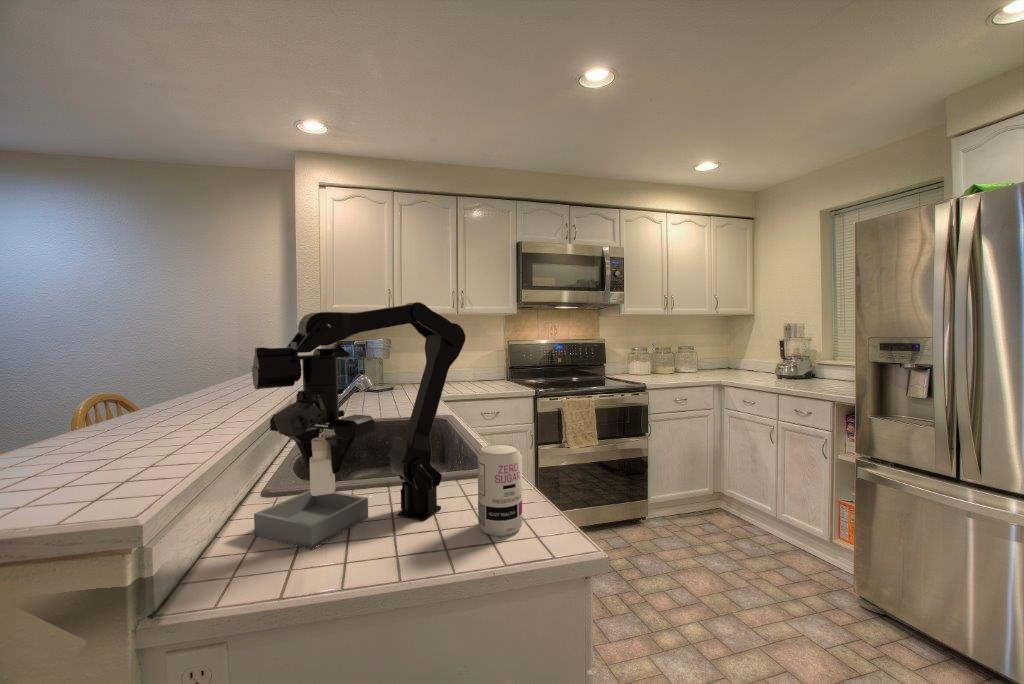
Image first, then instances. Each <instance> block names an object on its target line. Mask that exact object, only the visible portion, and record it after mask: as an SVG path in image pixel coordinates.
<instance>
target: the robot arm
mask: <svg viewBox="0 0 1024 684" xmlns="http://www.w3.org/2000/svg"><path fill="white" fill-rule="evenodd" d="M407 324H409V325H411V326H412V327H413V329H414V330H415V331H416V332H417V333H418V334H419V335H421V336H422V337H423V338H424V339H425V343H424V352H425V353H424V354H425V360H426V363H425V366H424V370H423V373H422V377H421V380H420V384H419V387H418V391H417V394H416V398H415V401H414V405H413V408H412V410H411V411H412V412H411V415H410V417H409V421H408V424H407V428H406V431H404V433H403V434H402V435H401V436H400V437H399V436H396V435H395V436H394V437H393V439H392V445H391V449H390V451H389V452H388V454H387V456H388V457H390V458H389V466H390V468H391V470H393V471H394V472H395V473H396V474H397V475H398V478H399V480H401V481H403V482H401V489H400V509H401V510H400V511H398V512H397V516H399V517H405V518H410V519H414V520H419V521H425V520H427V519H429V518H430V517H432V516H433V515H434V514H435V513H437V512H439V511H440V510H441V509H442V506H441V505H438V502H437V501H438V500H437V499H438V498H437V497H438V496H437V495H438V494H437V491H438V490H437V489H438V488H437V487H438V486H440V484H441V480H442V477H443V475H442V474H441V473H440V472H439V471H438V470H436V468H434V467H433V466H432V465H431V463H432V456H433V450H432V449H433V448H432V442H431V434H432V430H433V426H434V422H435V420H436V416H437V412H438V410H439V409H438V408H439V405H440V403H441V402H440V401H441V398H442V395H443V391H444V387H445V383H446V380H447V377H448V373H449V369H450V367H452V365H453V364H454V362H455V361H456V360H457V358H459V356H460V354H461V351H462V349H463V347H464V346H465V343H466V336H467V335H466V333H465V331H464V329H463V327H462V326H461V325H460V324H457V323H456V322H451V321H449V320H448V319H447V318H446V317H444V316H442V315H441V314H439V313H437V312H435V311H433V310H432V309H430V308H429V306H427V305H426V304H424V303H423V302H420V301H419V302H417V301H415V302H408V303H406V304H402V305H397V306H391V307H384V308H377V309H371V310H364V311H357V312H337V311H336V312H334V311H332V312H331V311H330V312H327V311H323V312H319V311H318V312H310V313H307V314H306V315H304V316H303V317H302V318H301V319H300V321H299V322H298V327H297V329H298V331H297V333H296V334H295V335H294V337H293V338H291V339H292V340H291V341H290V342H289V343H288V344H287V346H286V347H264V346H263V347H261V346H259V347H255V348H254V357H253V364H252V367H251V375H252V376H251V377H252V383H253V384H252V385H253V386H254V390H262V389H263V390H264V389H265V390H266V389H275V388H277V389H278V388H288V387H294V385H295V384H296V382H299V380H301V378H302V390H298V391H297V393H296V400H295V402H293V403H291V404H289V405H287V406H285V407H284V408H283V409H281V410H279V411H278V412H277V413H274V414H273V415H272V417H271V418H270V419H269V430H270V431H272V432H273V431H274V432H278V433H279V435H284V436H285V437H288V438H289V439H291V440H292V441H294V442H295V443H296V446H297V447H298V450H299V451H300V454H301V456H302V459H303V461H304V464H305V466H306V468H307V470H308V471H310V457H312V456H313V454H312V441H311V440H312V439H314V438H318V437H320V431H321V429H322V430H323V429H325V430H333V432H332V435H330V436H326V437H327V438H325V440H326V441H327V442H328V443H329V444H330V446H331V464H332V471H333V473H334V474H335V475H336V474H338V473H339V472H340V470H341V468H342V466H343V463H344V461H345V458H346V456H347V455H348V451H349V450H350V447H351V446H352V444H353V442H354V441H355V439H356V438H359V437H362V436H365V435H368V434H370V433H373V432H375V431H376V422H375V419H374V418H373V417H372V416H371V415H365V414H351V415H349V416H346V417H345V411H344V410H342V409H340V407H339V406H340V404H339V398H340V397H339V395H342V394H344V387H339V372H338V358H348V357H350V355H351V354H350V352H349V351H347V350H346V349H344V348H343V346H342V345H341V344H340V343H338V342H340V341H344V340H347V339H348V338H350V337H352V336H354V335H356V334H360V333H363V332H369V331H375V330H380V329H385V328H391V327H396V326H403V325H407ZM329 345H333V346H332V347H329V348H328V347H327V348H326V347H325V346H329ZM320 346H321V347H322V346H324V347H325V348H319V347H320ZM312 352H313V353H312ZM301 353H303V354H301ZM304 353H312V354H304ZM299 354H300V355H299ZM301 360H302V362H301Z"/></svg>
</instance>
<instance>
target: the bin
mask: <svg viewBox="0 0 1024 684" xmlns="http://www.w3.org/2000/svg"><path fill="white" fill-rule="evenodd" d="M368 518H369V498H368V497H366V496H359V495H356V494H349V493H343V492H337V491H335V492H334V493H332V494H325V495H318V496H312V495H311V493H310V489H309V490H307V491H304V492H301V493H300V494H297V495H295V496H293V497H290V498H288V499H286V500H284V501H283V500H282V501H281V502H278V503H277V504H274V505H271V506H270V507H266V508H264V509H262V510H260V511H258V512H255V513H253V519H254V521H253V522H254V524H253V525H254V536H257V537H259V538H263V537H264V539H267V538H268V539H267V540H271V539H273V540H272V541H275V540H277V541H276V542H279V541H281V542H280V543H283V542H285V543H284V544H287V543H289V544H288V545H291V544H293V545H292V546H295V545H297V546H296V547H299V546H301V547H300V548H303V547H305V548H304V549H307V548H310V549H309V550H311V549H313V548H315V547H316V546H318V545H320V544H322V543H323V542H325V541H327V540H329V539H330V540H332V539H334V538H335V536H336V535H337V536H339V535H341V534H343V533H344V532H346V531H348V530H350V529H351V528H353V527H355V526H356V524H357V525H359V523H362V522H364V521H366V520H367V519H368ZM349 528H350V529H349ZM347 529H348V530H347ZM345 530H346V531H345ZM343 531H344V532H343ZM342 532H343V533H342ZM340 533H341V534H340ZM338 534H339V535H338ZM337 536H336V537H337ZM333 537H334V538H333ZM331 538H332V539H331ZM330 540H329V541H330ZM327 542H328V541H327ZM325 543H326V542H325ZM323 544H324V543H323ZM323 544H322V545H323ZM320 546H321V545H320ZM318 547H319V546H318ZM315 549H316V548H315ZM313 550H314V549H313Z"/></svg>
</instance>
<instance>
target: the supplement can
mask: <svg viewBox="0 0 1024 684" xmlns="http://www.w3.org/2000/svg"><path fill="white" fill-rule="evenodd" d="M477 516H478V517H477V521H478V522H477V523H478V524H477V525H478V528H479V529H480V530H481V531H482V532H484V533H485V534H486V535H489V536H494V537H506V536H512V535H513V534H515V533H517V532H518V531H519V529H520V528H522V526H523V455H522V453H521V452H520V450H519V447H518V446H517V445H514V444H508V443H492V444H488V445H485V446H482V447H481V448H480V452H479V454H478V456H477Z"/></svg>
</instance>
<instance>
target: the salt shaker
mask: <svg viewBox="0 0 1024 684" xmlns="http://www.w3.org/2000/svg"><path fill="white" fill-rule="evenodd" d="M327 437H328V436H319V437H318V438H314V439H312V440H311V441H312V454H313V456H312V457H310V470H309V485H310V486H309V487H310V488H309V490H310V493H311V495H312V496H318V495H325V494H332V493H334V492H336V474H334V473H333V471H332V464H331V446H330V444H329V443H328V442H327V441H326V440H325V438H327Z"/></svg>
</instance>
